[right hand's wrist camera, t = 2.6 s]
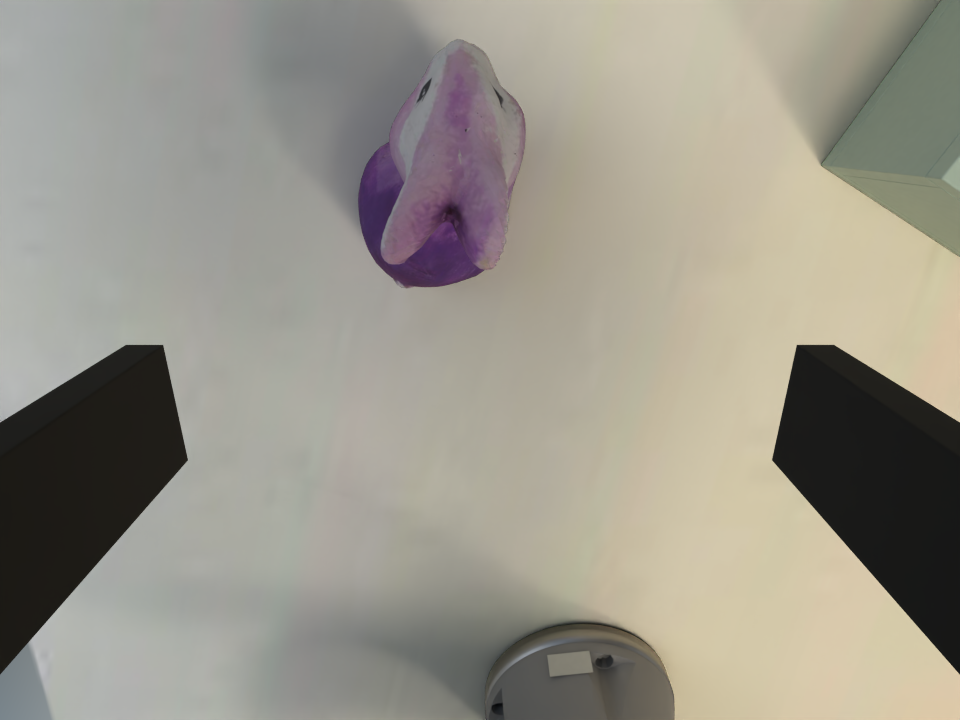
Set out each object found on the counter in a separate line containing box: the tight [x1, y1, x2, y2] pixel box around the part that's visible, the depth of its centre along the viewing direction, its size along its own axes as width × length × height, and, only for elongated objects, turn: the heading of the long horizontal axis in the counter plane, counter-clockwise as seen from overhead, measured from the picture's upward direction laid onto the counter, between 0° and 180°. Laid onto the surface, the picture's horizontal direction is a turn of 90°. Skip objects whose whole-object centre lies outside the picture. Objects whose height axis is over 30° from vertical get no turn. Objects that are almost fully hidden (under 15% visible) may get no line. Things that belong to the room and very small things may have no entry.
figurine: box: [358, 39, 526, 288], centre depth 26 cm, size 9×10×15 cm
